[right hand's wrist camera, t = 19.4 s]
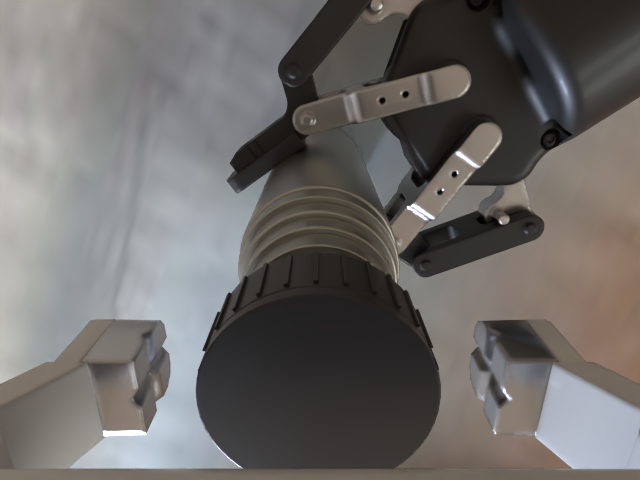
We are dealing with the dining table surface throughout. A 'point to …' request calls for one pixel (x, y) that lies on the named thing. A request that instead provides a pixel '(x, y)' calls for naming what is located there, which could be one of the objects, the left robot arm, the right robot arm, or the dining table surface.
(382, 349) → the cap
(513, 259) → the dining table surface
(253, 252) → the bottle
